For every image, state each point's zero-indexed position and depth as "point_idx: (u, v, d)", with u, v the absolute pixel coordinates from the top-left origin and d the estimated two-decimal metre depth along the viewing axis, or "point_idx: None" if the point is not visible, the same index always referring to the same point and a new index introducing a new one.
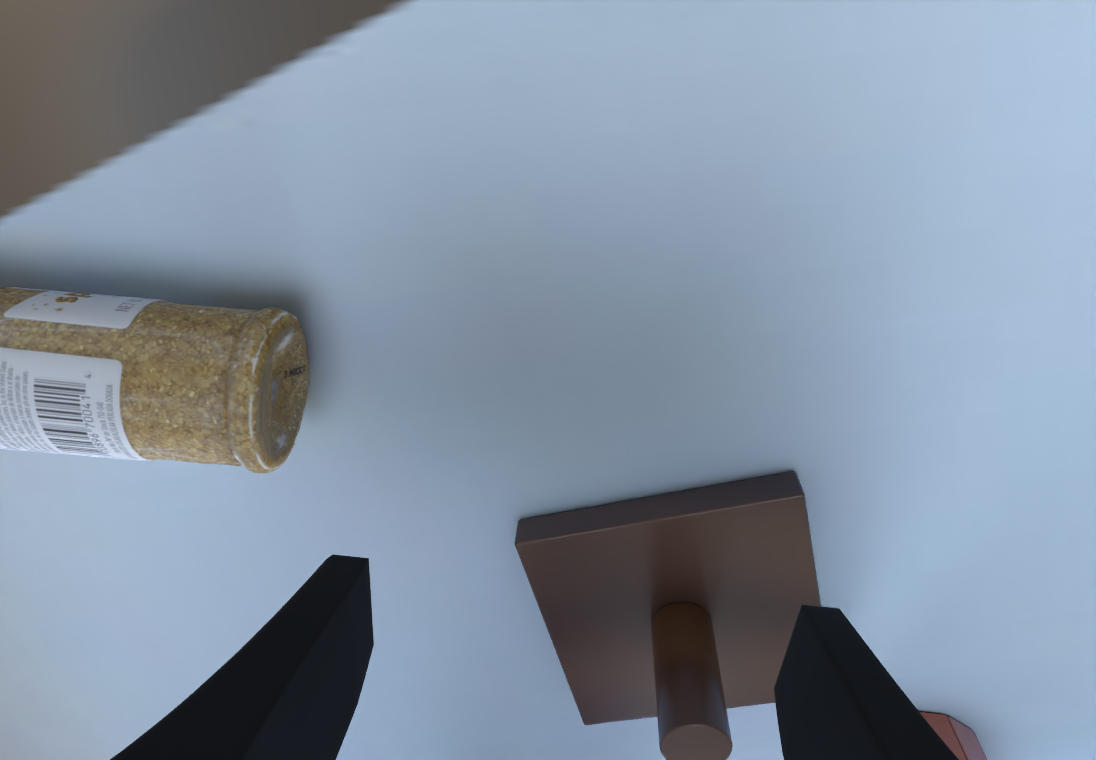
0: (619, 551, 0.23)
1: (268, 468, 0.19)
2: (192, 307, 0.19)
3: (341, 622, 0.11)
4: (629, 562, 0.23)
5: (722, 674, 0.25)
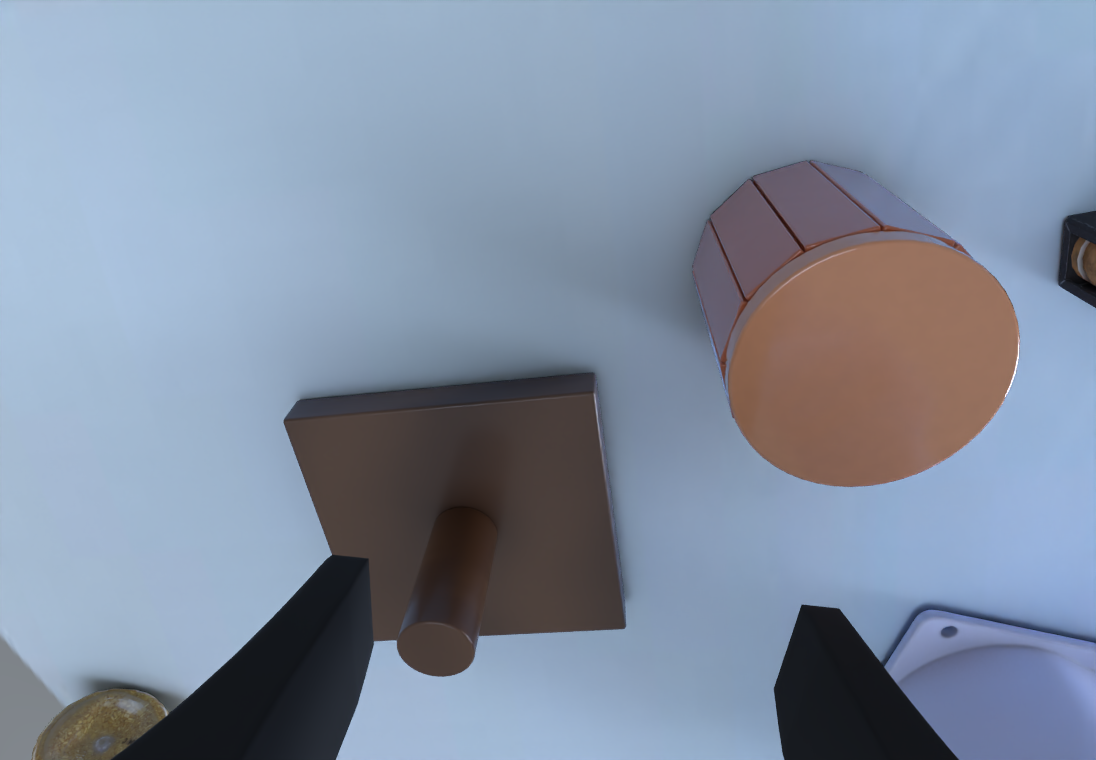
0: None
1: None
2: None
3: (341, 622, 0.11)
4: (380, 564, 0.23)
5: (547, 502, 0.22)
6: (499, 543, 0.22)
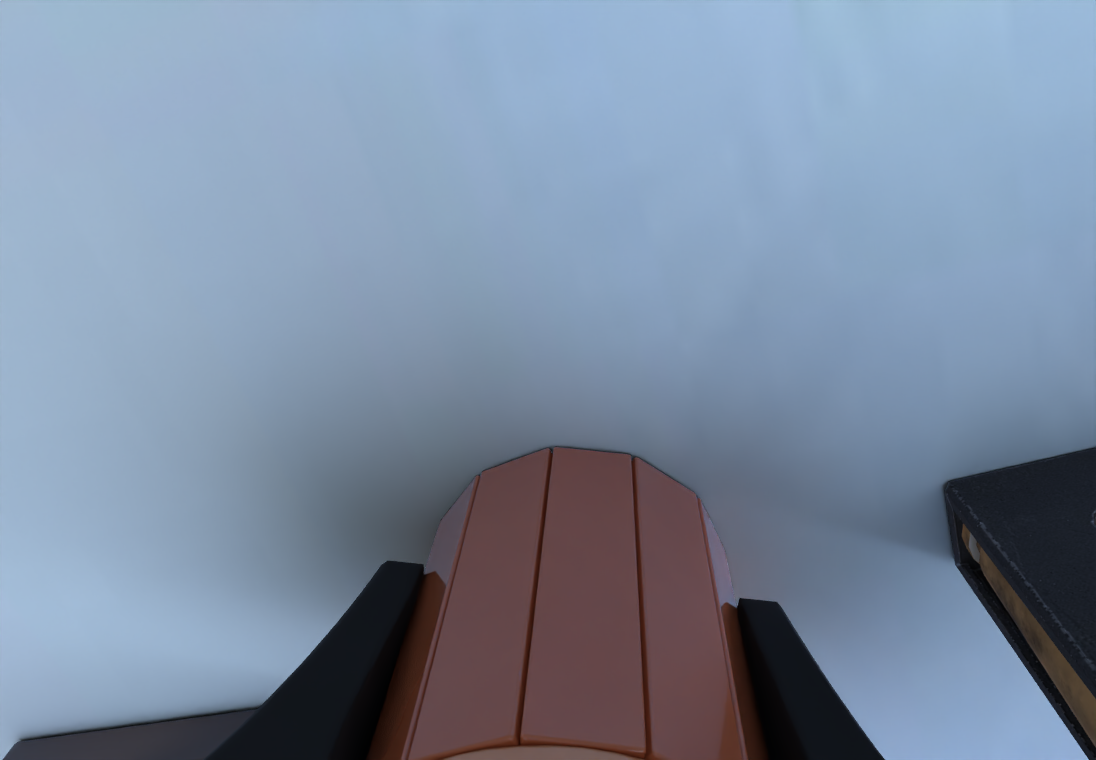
0: None
1: None
2: None
3: (402, 629, 0.11)
4: None
5: None
6: None
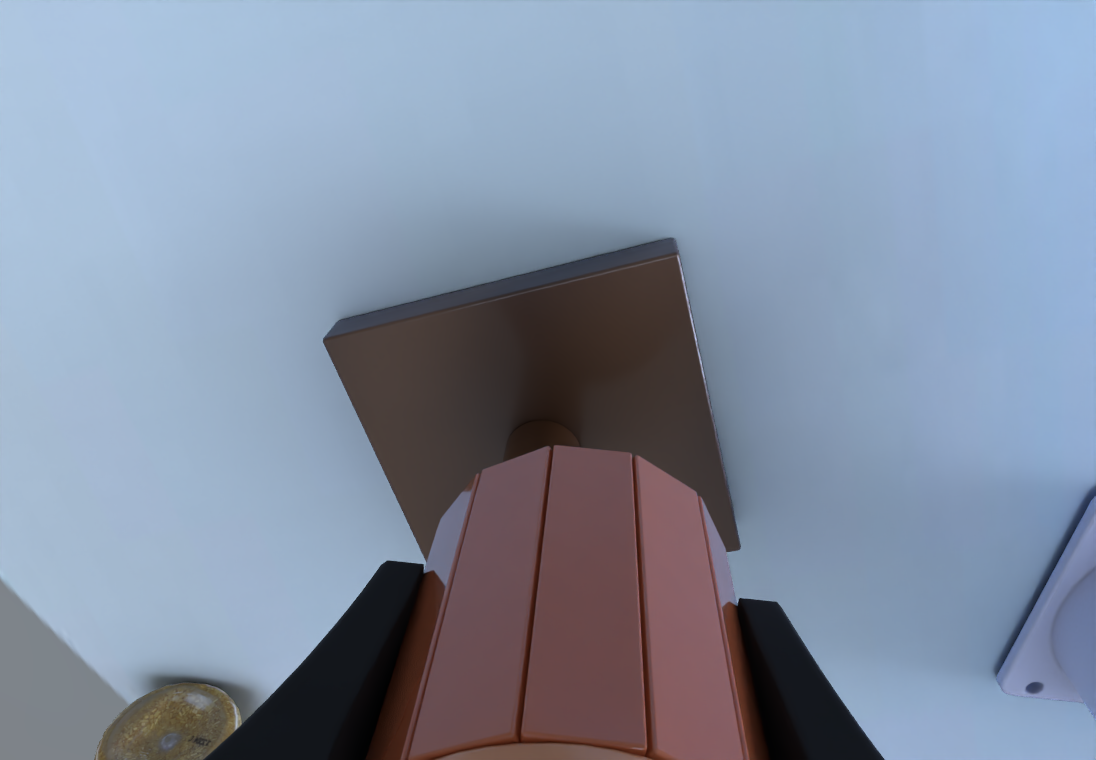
0: (437, 512, 0.21)
1: None
2: None
3: (402, 629, 0.11)
4: (451, 503, 0.20)
5: (634, 401, 0.18)
6: None
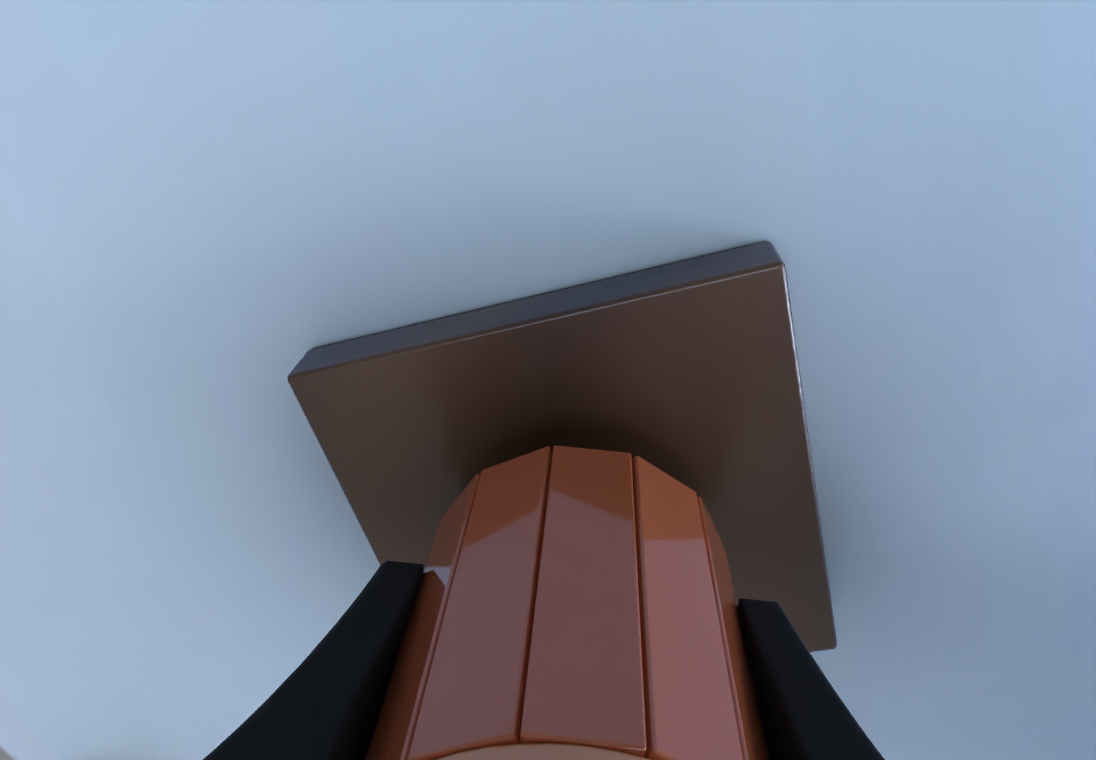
0: None
1: None
2: None
3: (401, 629, 0.11)
4: None
5: (709, 462, 0.14)
6: None
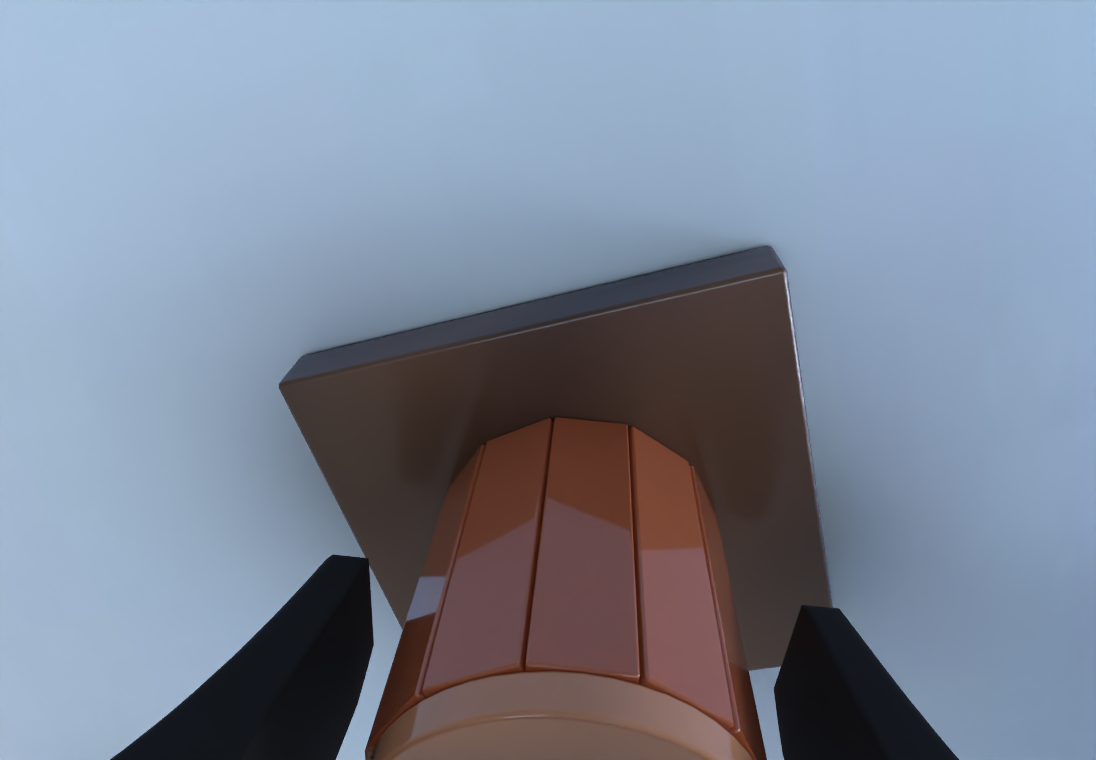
0: None
1: None
2: None
3: (341, 622, 0.11)
4: None
5: (709, 471, 0.13)
6: None
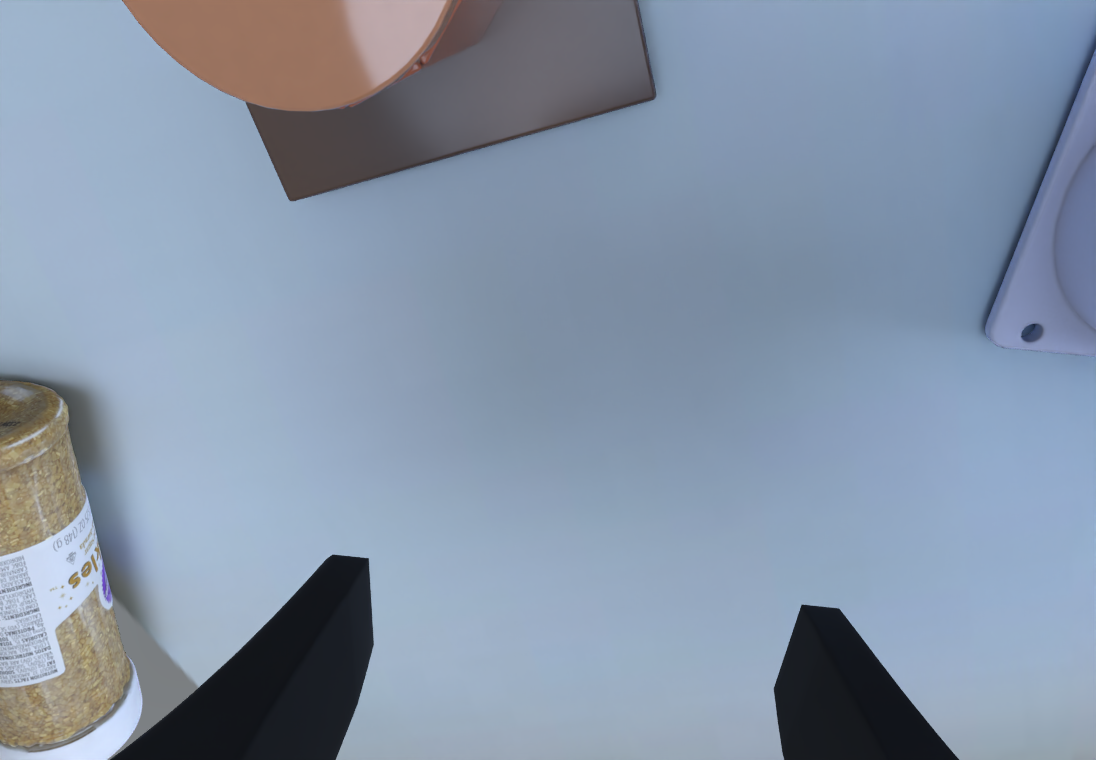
0: None
1: None
2: None
3: (341, 622, 0.11)
4: None
5: None
6: None
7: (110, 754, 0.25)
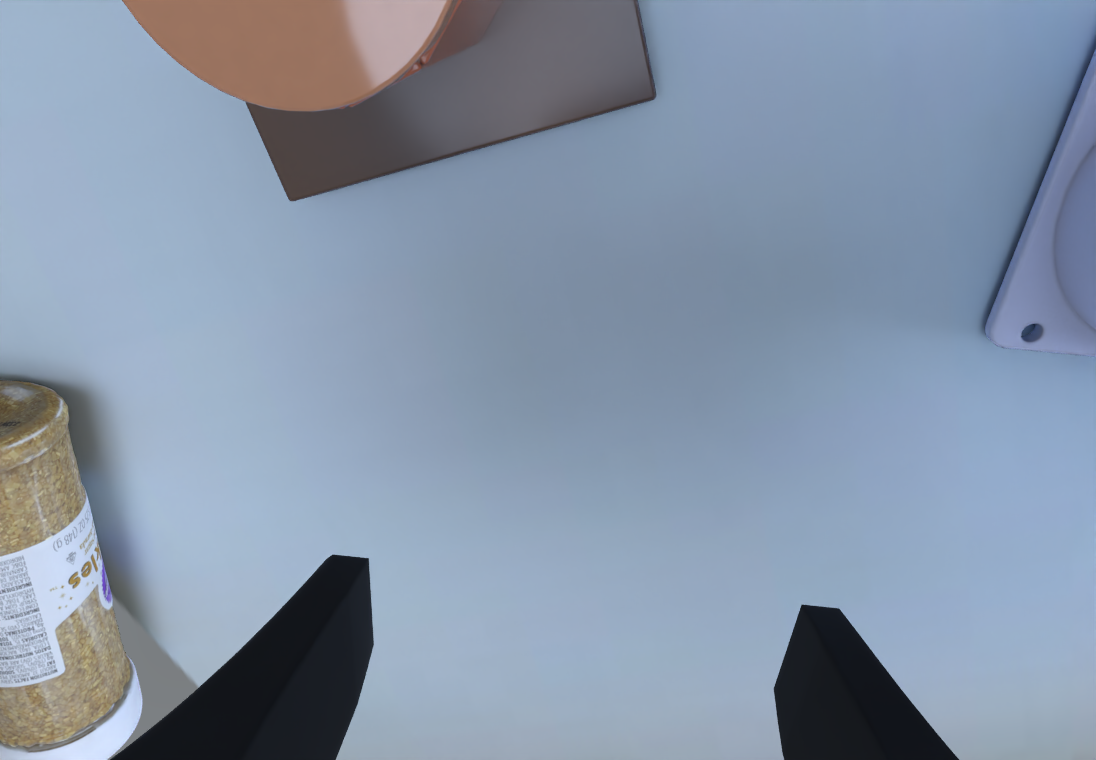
0: None
1: None
2: None
3: (341, 622, 0.11)
4: None
5: None
6: None
7: (110, 754, 0.25)
